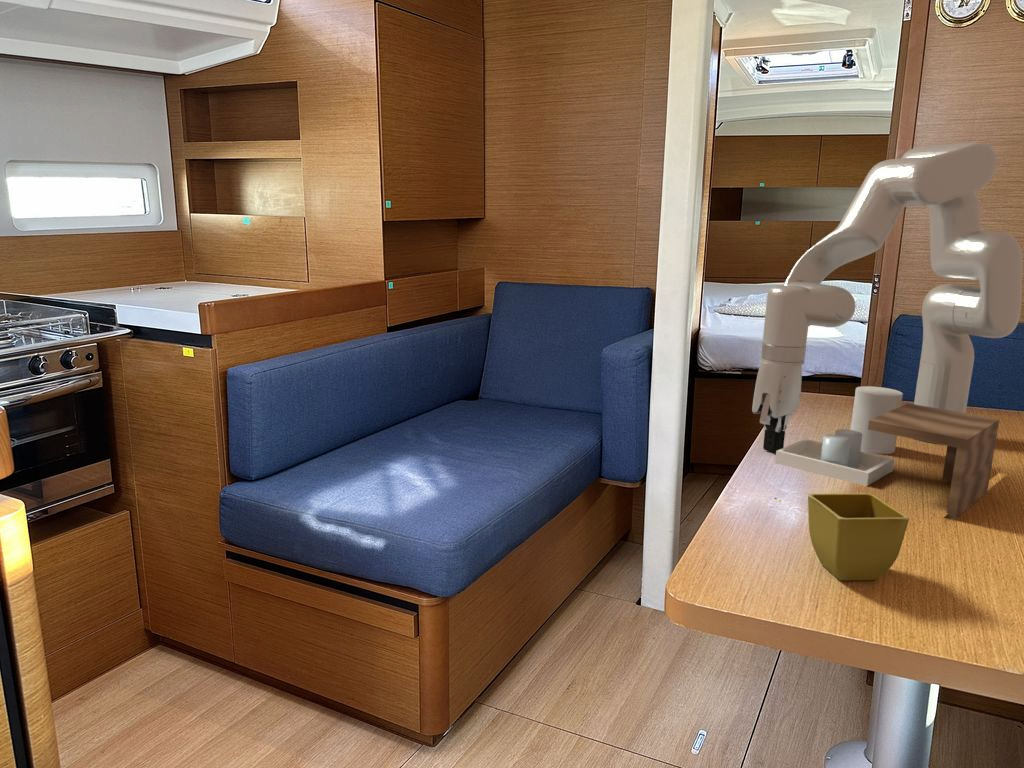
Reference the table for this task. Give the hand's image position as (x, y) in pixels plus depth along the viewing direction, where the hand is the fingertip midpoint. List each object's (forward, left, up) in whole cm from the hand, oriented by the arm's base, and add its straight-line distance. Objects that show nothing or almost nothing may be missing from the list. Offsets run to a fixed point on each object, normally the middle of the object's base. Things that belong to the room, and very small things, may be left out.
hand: (772, 450), depth 143 cm
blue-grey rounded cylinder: (+3, +12, 0) cm, 13 cm away
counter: (0, +26, -1) cm, 26 cm away
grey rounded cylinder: (-3, +12, 0) cm, 13 cm away
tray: (0, +11, -1) cm, 11 cm away
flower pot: (+39, +29, -1) cm, 49 cm away
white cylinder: (-18, +11, -1) cm, 21 cm away
